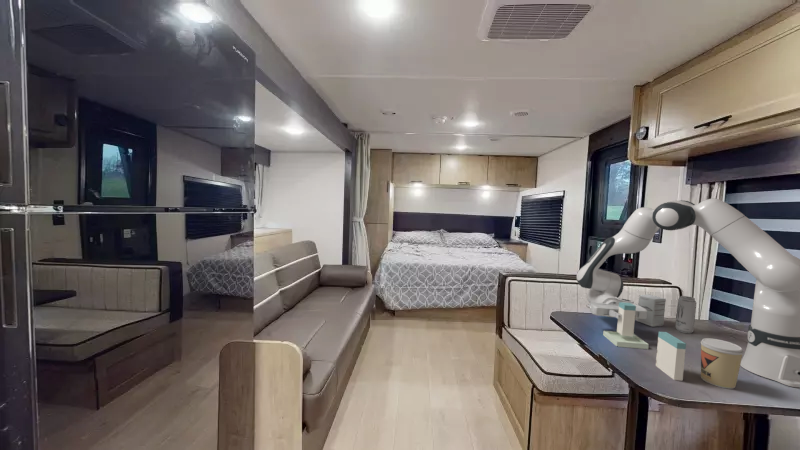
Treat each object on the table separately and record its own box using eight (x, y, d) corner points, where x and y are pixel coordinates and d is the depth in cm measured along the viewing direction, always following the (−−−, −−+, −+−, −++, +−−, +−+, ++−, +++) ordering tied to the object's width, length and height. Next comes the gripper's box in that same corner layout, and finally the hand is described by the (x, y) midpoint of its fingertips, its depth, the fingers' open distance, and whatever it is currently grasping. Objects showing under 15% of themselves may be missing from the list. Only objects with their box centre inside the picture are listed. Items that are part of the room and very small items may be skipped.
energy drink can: (671, 328, 146) (674, 295, 145) (685, 328, 146) (688, 295, 145) (682, 333, 140) (686, 299, 139) (697, 334, 140) (700, 299, 139)
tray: (632, 337, 134) (632, 332, 134) (648, 349, 123) (648, 344, 123) (603, 335, 136) (603, 330, 136) (616, 346, 125) (617, 341, 125)
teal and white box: (663, 366, 110) (666, 332, 109) (682, 380, 101) (686, 343, 100) (655, 365, 111) (658, 331, 110) (673, 379, 102) (677, 342, 101)
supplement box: (636, 321, 154) (638, 294, 153) (647, 319, 156) (649, 293, 155) (652, 327, 147) (654, 299, 146) (664, 325, 149) (666, 298, 148)
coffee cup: (691, 371, 107) (695, 335, 107) (728, 377, 104) (732, 340, 103) (706, 385, 99) (710, 347, 98) (746, 393, 95) (751, 353, 95)
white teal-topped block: (627, 332, 131) (630, 302, 130) (633, 336, 127) (635, 306, 126) (616, 331, 132) (619, 302, 131) (622, 335, 128) (624, 305, 127)
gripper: (585, 297, 143) (599, 307, 129) (636, 300, 140) (656, 311, 126) (583, 311, 143) (598, 322, 130) (634, 315, 141) (655, 327, 127)
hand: (627, 317), depth 128 cm, fingers closed on white teal-topped block, 4 cm apart
